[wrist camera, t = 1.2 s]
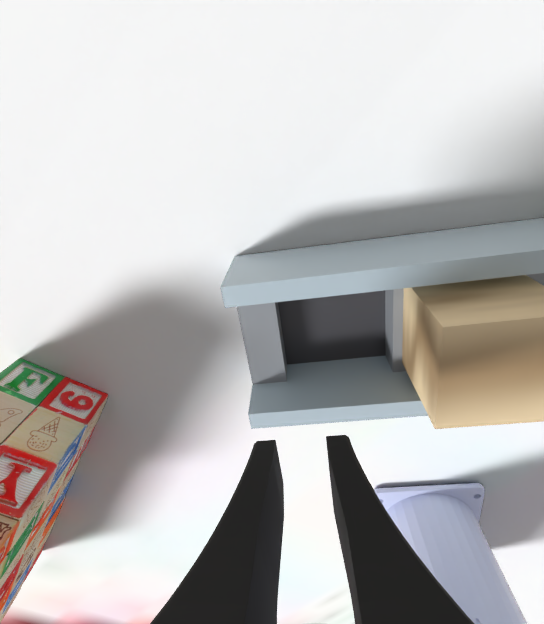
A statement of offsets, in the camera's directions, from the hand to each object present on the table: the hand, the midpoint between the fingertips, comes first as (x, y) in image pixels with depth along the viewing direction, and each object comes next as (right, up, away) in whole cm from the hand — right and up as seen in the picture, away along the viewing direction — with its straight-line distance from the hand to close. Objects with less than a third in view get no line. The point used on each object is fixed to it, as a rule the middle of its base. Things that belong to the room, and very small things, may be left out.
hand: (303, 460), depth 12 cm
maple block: (+8, +5, +7) cm, 12 cm away
